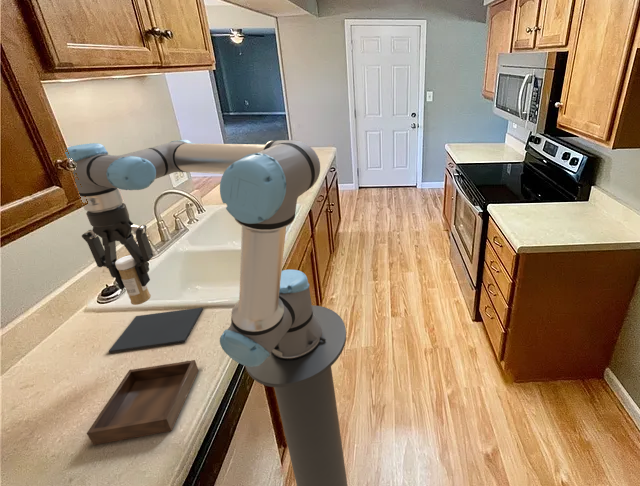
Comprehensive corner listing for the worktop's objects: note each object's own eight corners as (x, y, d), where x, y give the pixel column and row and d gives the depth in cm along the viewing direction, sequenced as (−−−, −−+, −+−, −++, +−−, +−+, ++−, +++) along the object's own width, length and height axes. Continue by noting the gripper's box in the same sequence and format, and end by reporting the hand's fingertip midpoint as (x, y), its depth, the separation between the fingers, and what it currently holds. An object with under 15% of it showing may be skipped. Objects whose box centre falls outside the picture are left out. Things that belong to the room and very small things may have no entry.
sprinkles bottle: (155, 296, 93) (140, 255, 88) (139, 307, 89) (122, 265, 84) (143, 293, 94) (128, 253, 89) (126, 303, 90) (109, 262, 85)
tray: (198, 370, 88) (195, 359, 86) (171, 430, 73) (166, 419, 72) (134, 380, 85) (129, 369, 84) (93, 445, 71) (86, 433, 70)
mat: (203, 309, 110) (202, 307, 109) (185, 342, 97) (184, 340, 97) (137, 317, 107) (136, 315, 106) (109, 353, 94) (108, 350, 94)
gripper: (52, 217, 76) (89, 298, 85) (137, 209, 79) (164, 288, 88) (75, 204, 83) (107, 280, 91) (152, 197, 86) (176, 272, 94)
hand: (135, 284), depth 89 cm, fingers closed on sprinkles bottle, 5 cm apart
